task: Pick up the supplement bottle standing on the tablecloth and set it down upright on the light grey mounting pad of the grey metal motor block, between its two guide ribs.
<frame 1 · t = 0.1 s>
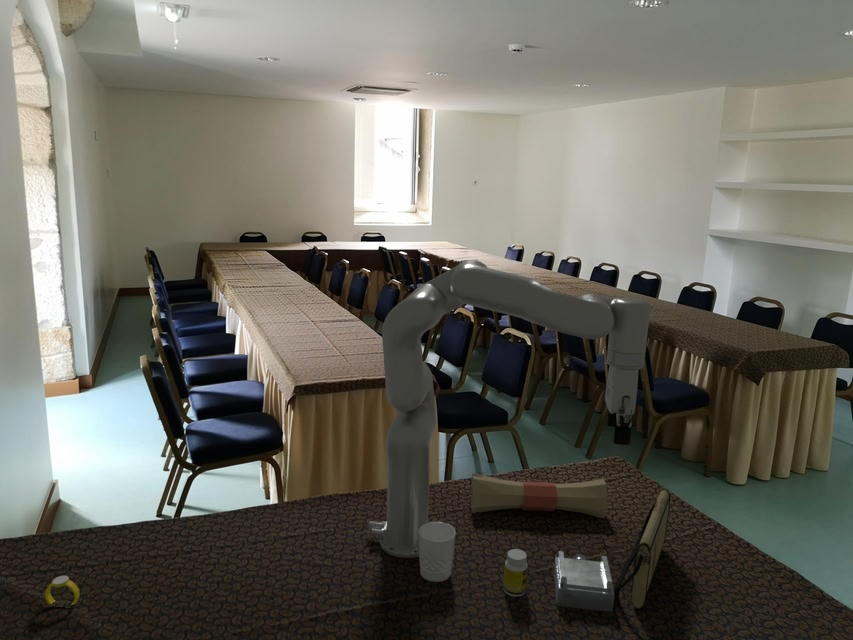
hand: (617, 434, 139), 31 cm above the table, tool pointing down, fingers open, 9 cm apart
scroll: (536, 512, 168), on the table
supplement bottle: (514, 591, 136), on the table
clutch purse: (638, 574, 143), on the table
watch: (63, 607, 127), on the table
white cup: (435, 573, 141), on the table
motor block: (581, 591, 136), on the table
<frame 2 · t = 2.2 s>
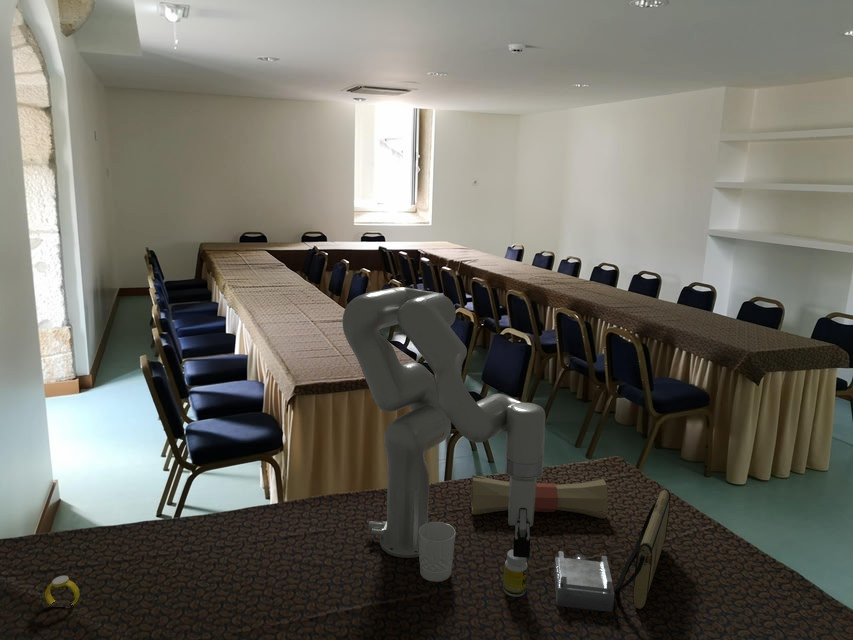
hand: (521, 543, 133), 11 cm above the table, tool pointing down, fingers open, 9 cm apart
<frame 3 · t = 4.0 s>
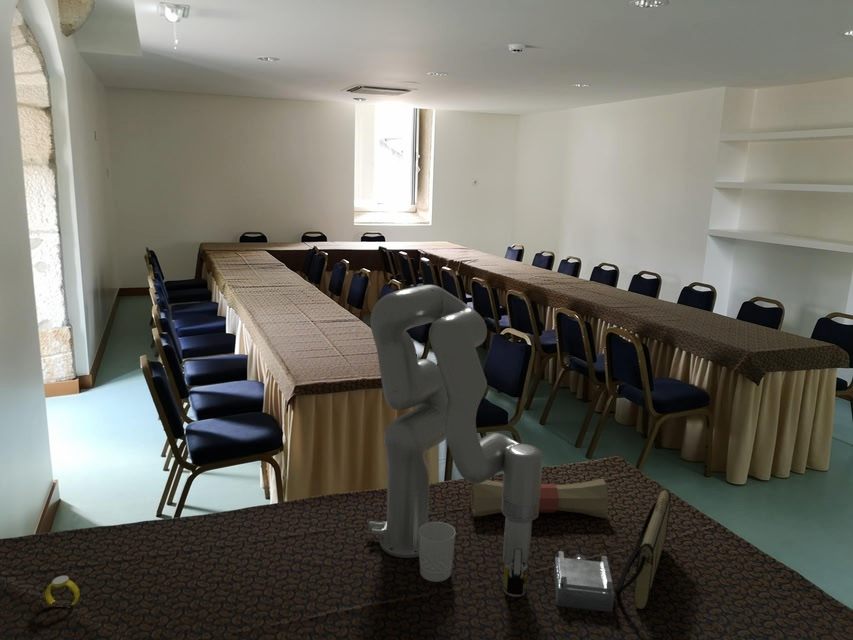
hand: (514, 584, 135), 1 cm above the table, tool pointing down, fingers closed on supplement bottle, 4 cm apart
supplement bottle: (514, 591, 136), on the table, touching gripper
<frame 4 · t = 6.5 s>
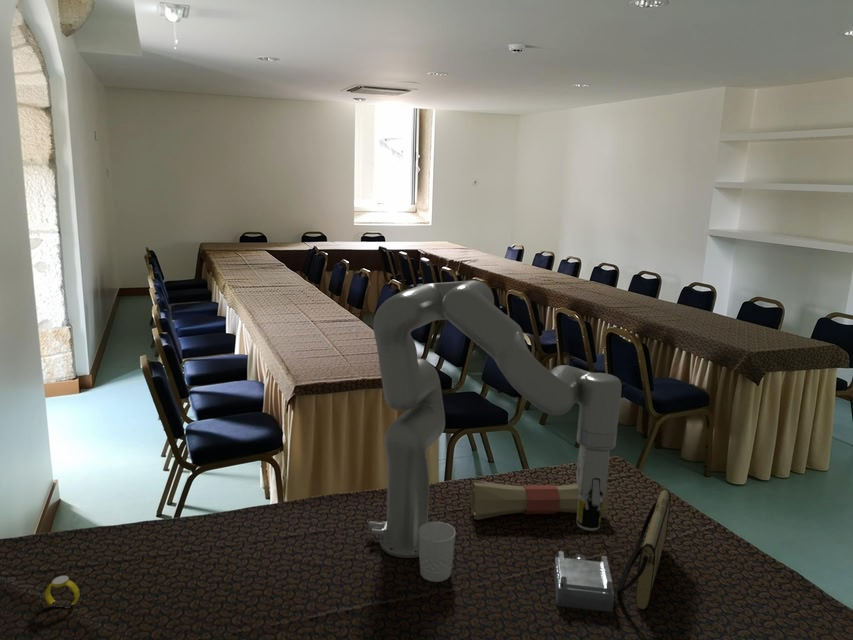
hand: (588, 518, 132), 17 cm above the table, tool pointing down, fingers closed on supplement bottle, 4 cm apart
supplement bottle: (588, 525, 132), point 15 cm above the table, touching gripper
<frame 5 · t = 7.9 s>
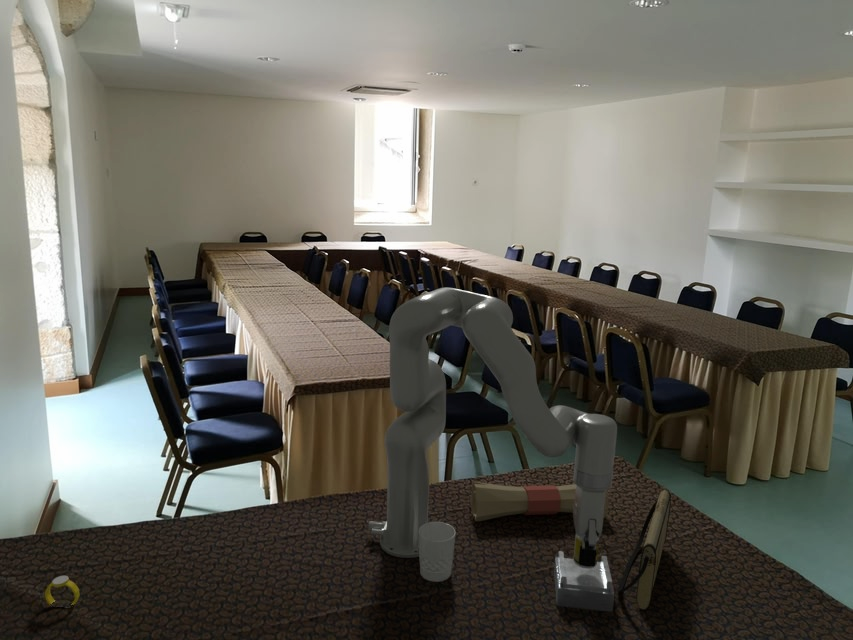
hand: (585, 556, 134), 8 cm above the table, tool pointing down, fingers closed on supplement bottle, 4 cm apart
supplement bottle: (584, 563, 134), point 7 cm above the table, touching gripper
when the fingers open (7 cm above the table, at t = 8.9 s): supplement bottle drops 1 cm, resting on motor block.
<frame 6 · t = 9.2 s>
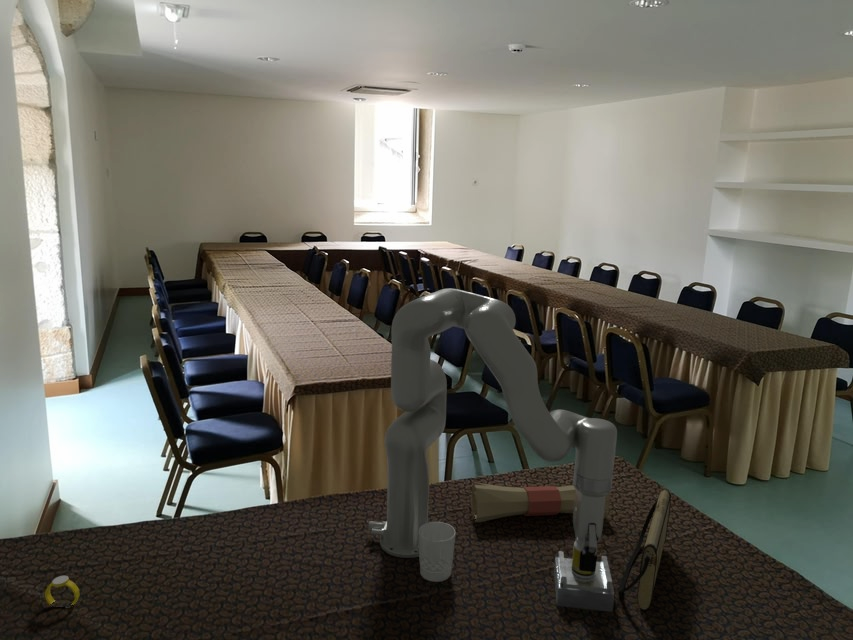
hand: (585, 558, 134), 8 cm above the table, tool pointing down, fingers open, 7 cm apart
supplement bottle: (582, 572, 135), point 4 cm above the table, touching motor block
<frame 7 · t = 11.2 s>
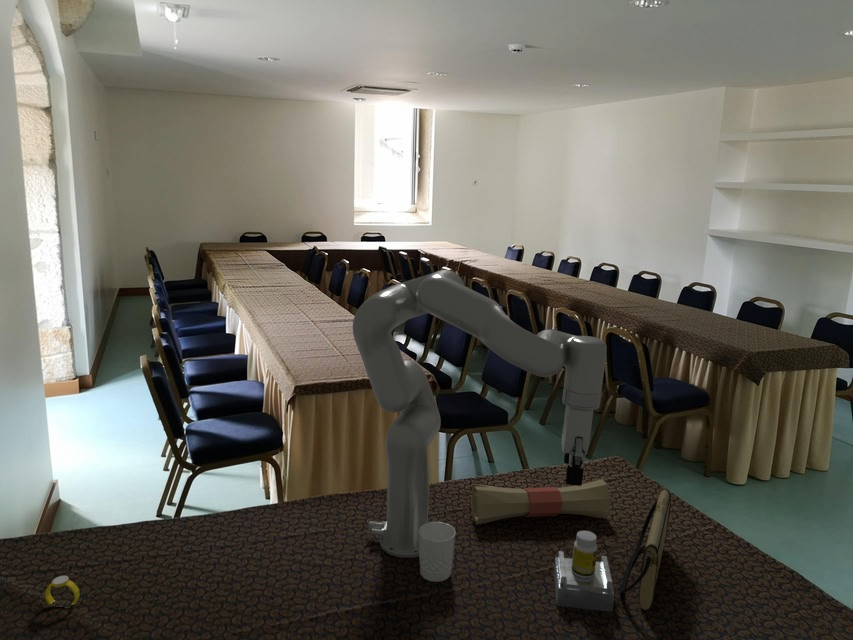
hand: (572, 473, 136), 24 cm above the table, tool pointing down, fingers open, 9 cm apart
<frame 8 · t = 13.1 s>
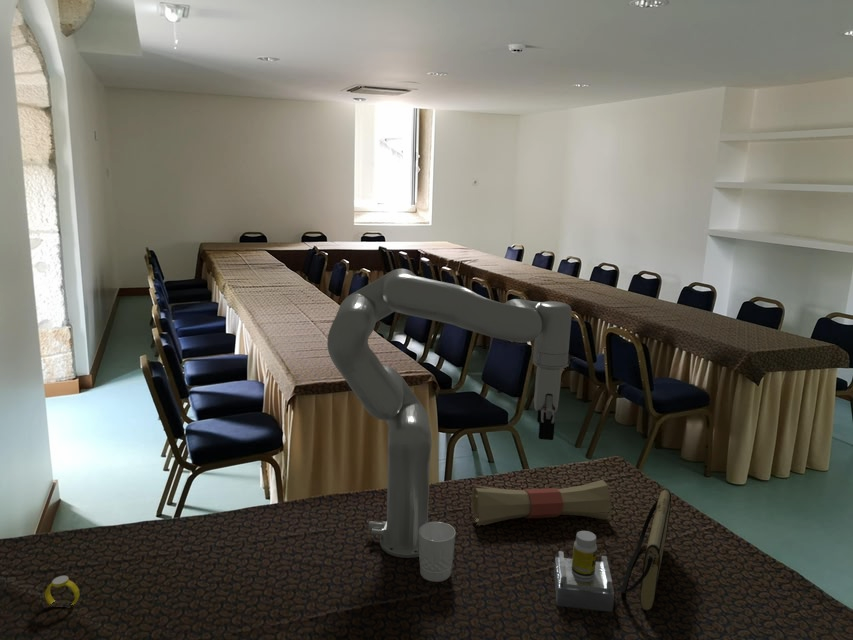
hand: (544, 430, 147), 28 cm above the table, tool pointing down, fingers open, 9 cm apart
at the end: supplement bottle 0.2 cm off-centre on the motor block, point 4.3 cm above the motor block's base; supplement bottle tilted 0°; the gripper is holding nothing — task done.
